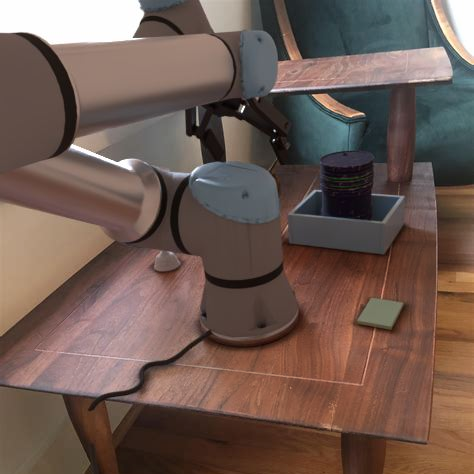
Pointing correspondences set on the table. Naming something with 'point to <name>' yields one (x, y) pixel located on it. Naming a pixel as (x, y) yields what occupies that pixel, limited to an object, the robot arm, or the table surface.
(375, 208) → the open box
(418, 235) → the table surface
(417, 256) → the table surface
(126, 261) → the table surface
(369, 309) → the coaster
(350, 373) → the table surface
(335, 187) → the dark striped canister
